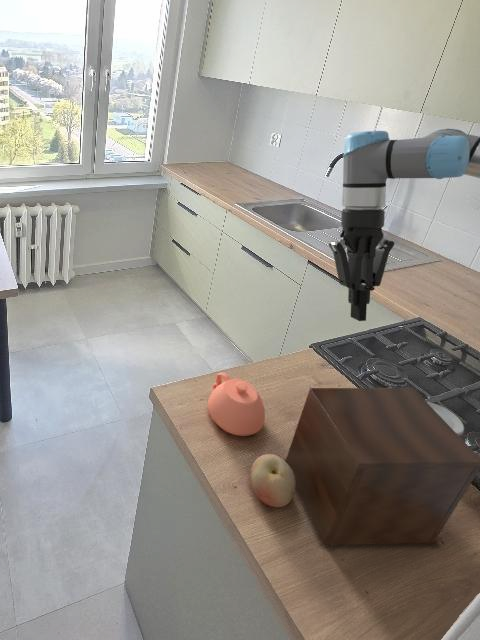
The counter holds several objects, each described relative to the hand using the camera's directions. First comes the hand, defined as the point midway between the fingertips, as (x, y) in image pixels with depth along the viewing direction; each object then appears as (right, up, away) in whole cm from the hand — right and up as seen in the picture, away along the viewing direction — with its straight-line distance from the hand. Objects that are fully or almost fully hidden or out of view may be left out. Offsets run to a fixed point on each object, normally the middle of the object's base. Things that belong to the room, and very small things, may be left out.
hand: (358, 318), depth 88 cm
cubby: (-7, -33, -9) cm, 35 cm away
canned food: (+14, -29, +1) cm, 33 cm away
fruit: (-23, -32, -9) cm, 40 cm away
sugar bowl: (-24, -24, +8) cm, 35 cm away
